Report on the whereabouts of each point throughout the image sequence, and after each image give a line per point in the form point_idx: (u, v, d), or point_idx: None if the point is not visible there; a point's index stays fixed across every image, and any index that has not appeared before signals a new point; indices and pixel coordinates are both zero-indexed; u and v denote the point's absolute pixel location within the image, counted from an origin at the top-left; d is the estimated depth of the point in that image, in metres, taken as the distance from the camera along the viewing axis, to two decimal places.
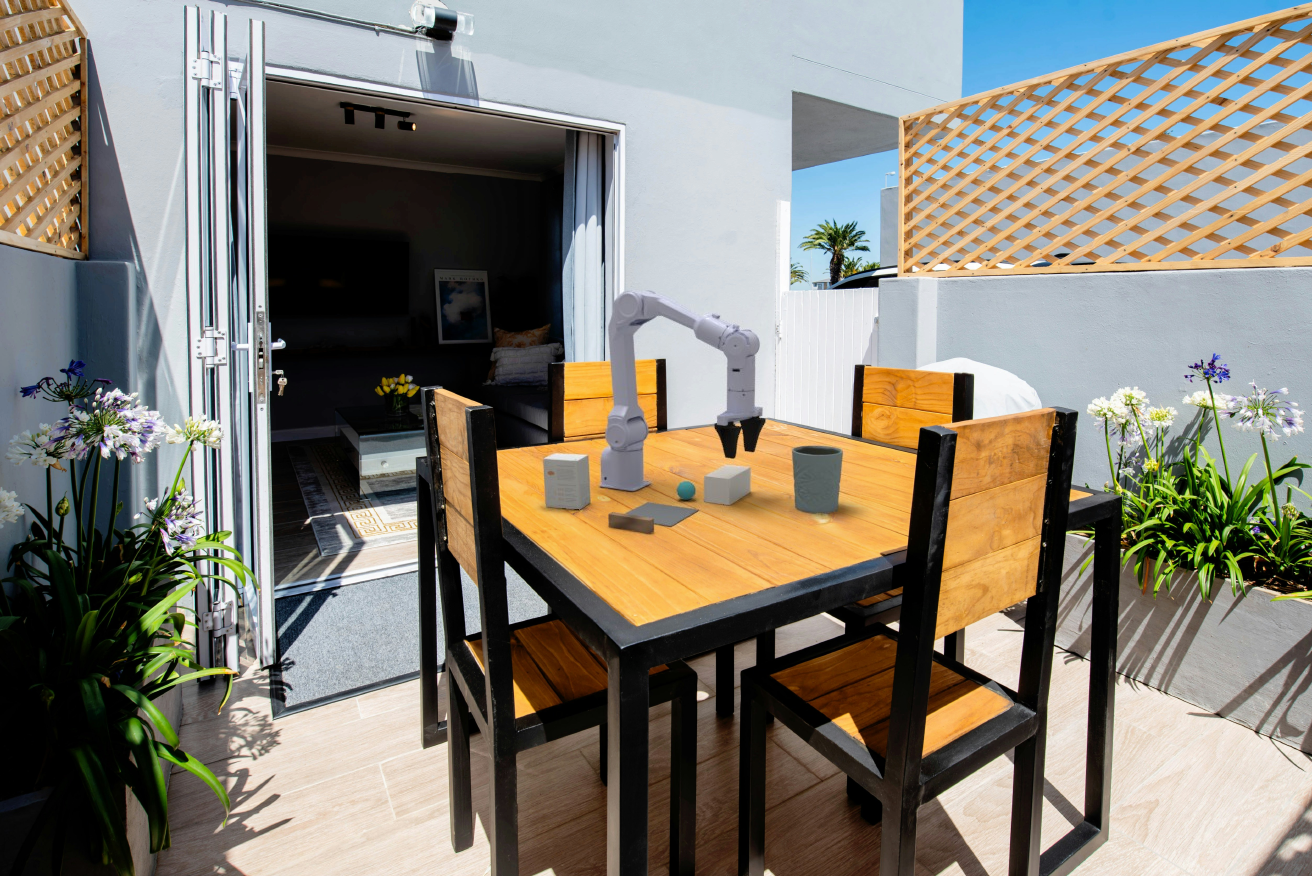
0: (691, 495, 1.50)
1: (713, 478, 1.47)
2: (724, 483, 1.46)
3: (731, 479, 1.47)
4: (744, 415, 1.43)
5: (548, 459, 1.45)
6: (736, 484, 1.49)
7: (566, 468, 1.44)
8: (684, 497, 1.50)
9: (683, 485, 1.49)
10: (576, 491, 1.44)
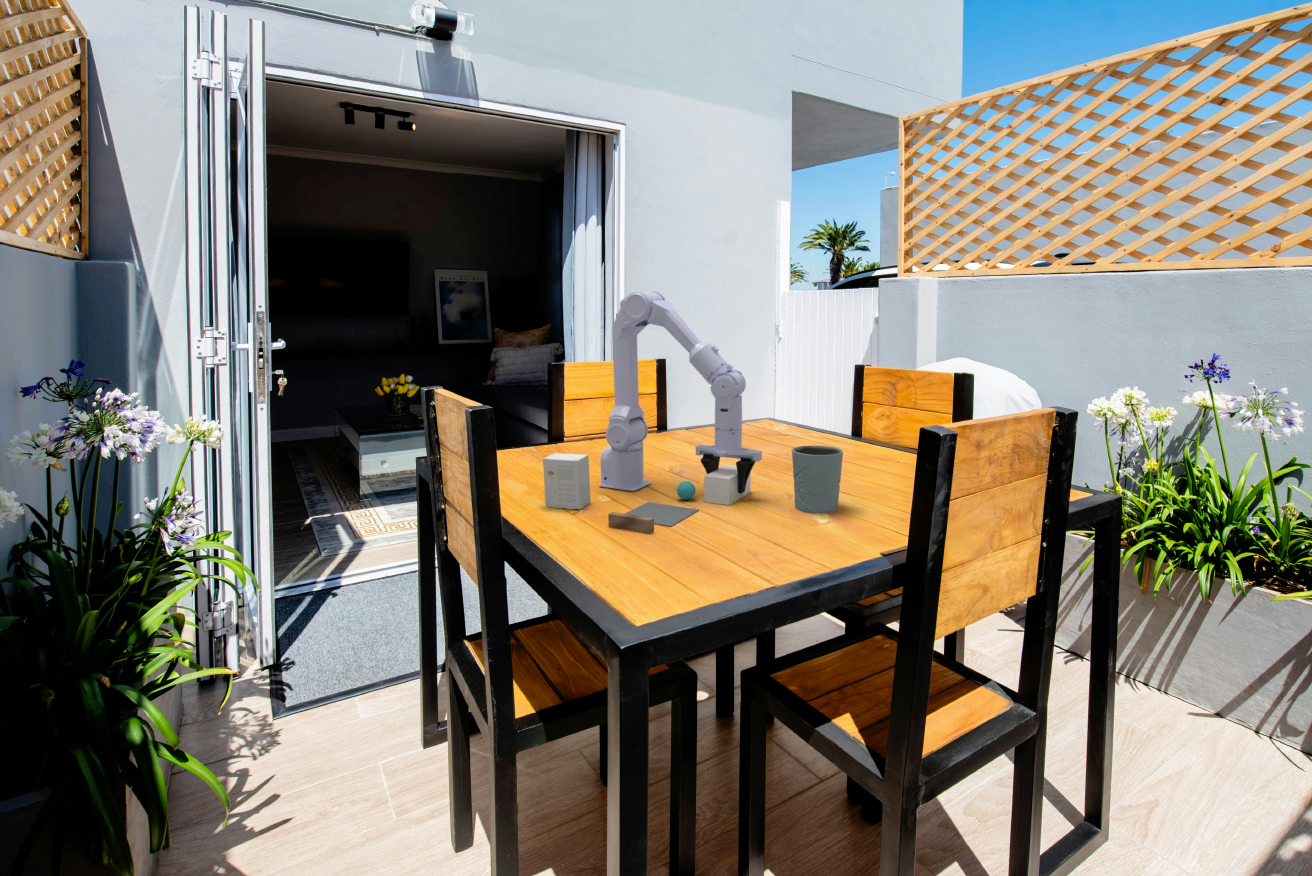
0: (691, 495, 1.50)
1: (713, 478, 1.47)
2: (724, 483, 1.46)
3: (731, 479, 1.47)
4: (713, 451, 1.50)
5: (548, 459, 1.45)
6: (736, 484, 1.49)
7: (566, 468, 1.44)
8: (684, 497, 1.50)
9: (683, 485, 1.49)
10: (576, 491, 1.44)
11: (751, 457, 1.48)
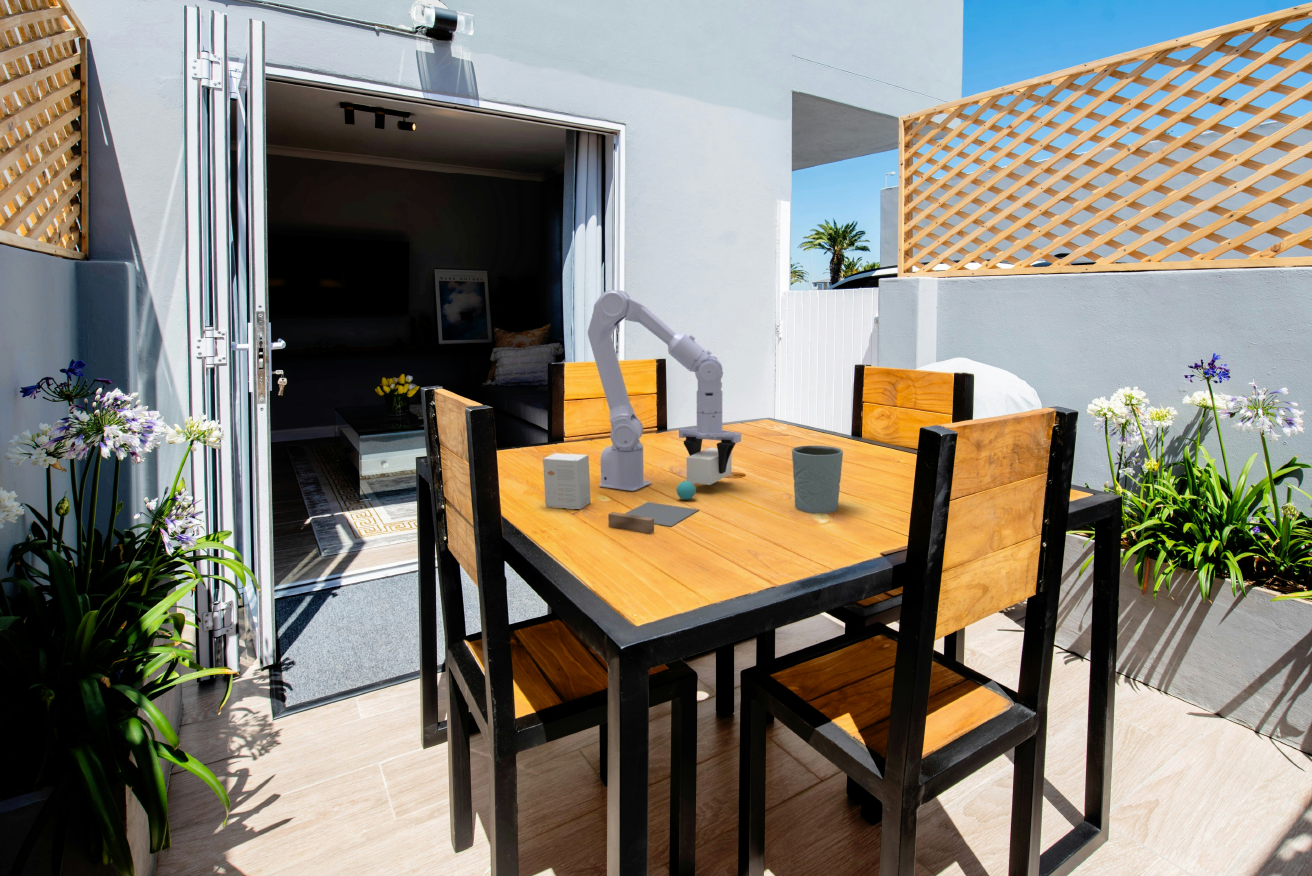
0: (691, 495, 1.50)
1: (695, 459, 1.55)
2: (705, 463, 1.54)
3: (712, 460, 1.54)
4: (695, 433, 1.58)
5: (548, 459, 1.45)
6: (717, 465, 1.57)
7: (566, 468, 1.44)
8: (684, 497, 1.50)
9: (683, 485, 1.49)
10: (576, 491, 1.44)
11: (731, 439, 1.56)
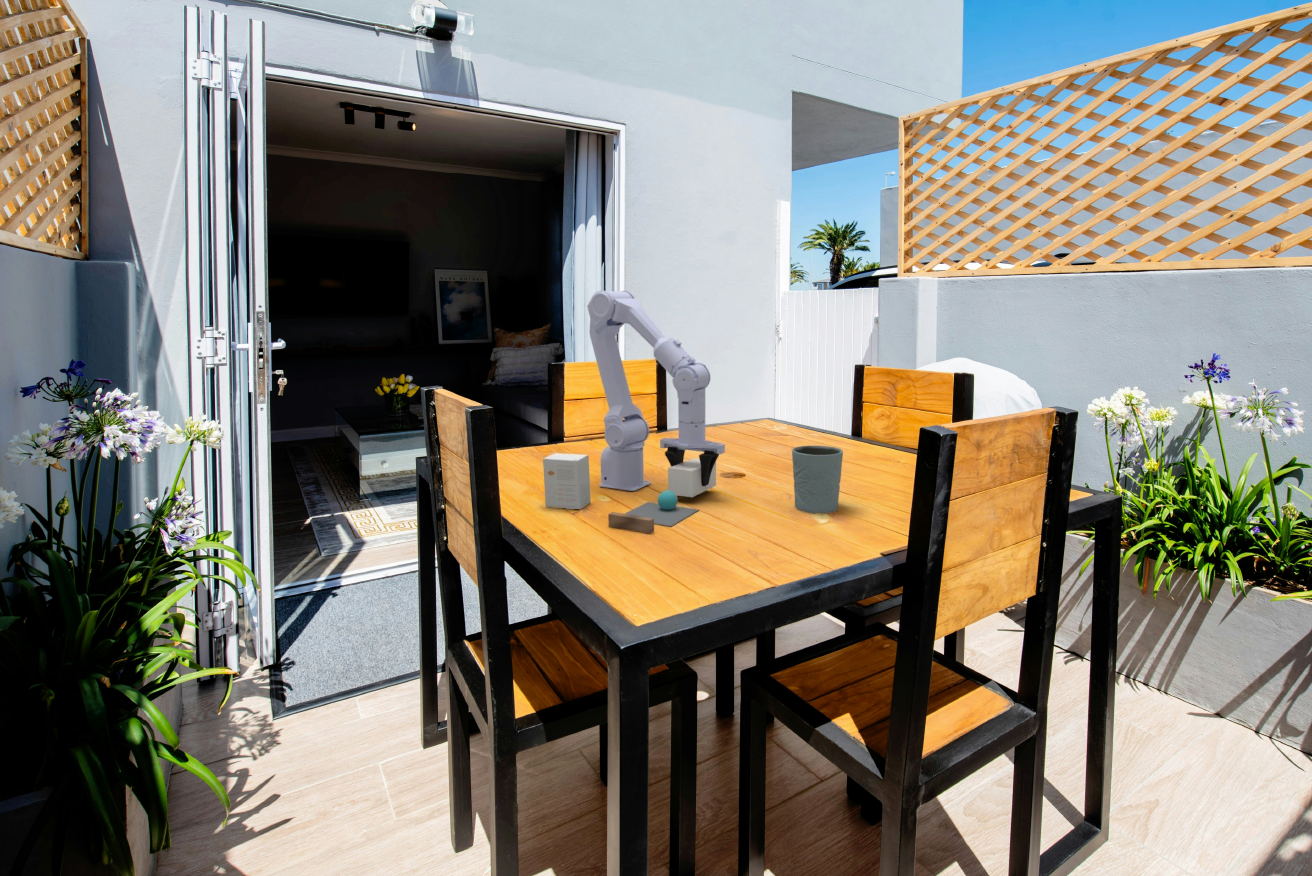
0: (674, 496, 1.42)
1: (677, 470, 1.48)
2: (687, 475, 1.47)
3: (694, 471, 1.47)
4: (677, 444, 1.51)
5: (548, 459, 1.45)
6: (700, 477, 1.50)
7: (566, 468, 1.44)
8: (668, 492, 1.43)
9: None
10: (576, 491, 1.44)
11: (714, 450, 1.49)
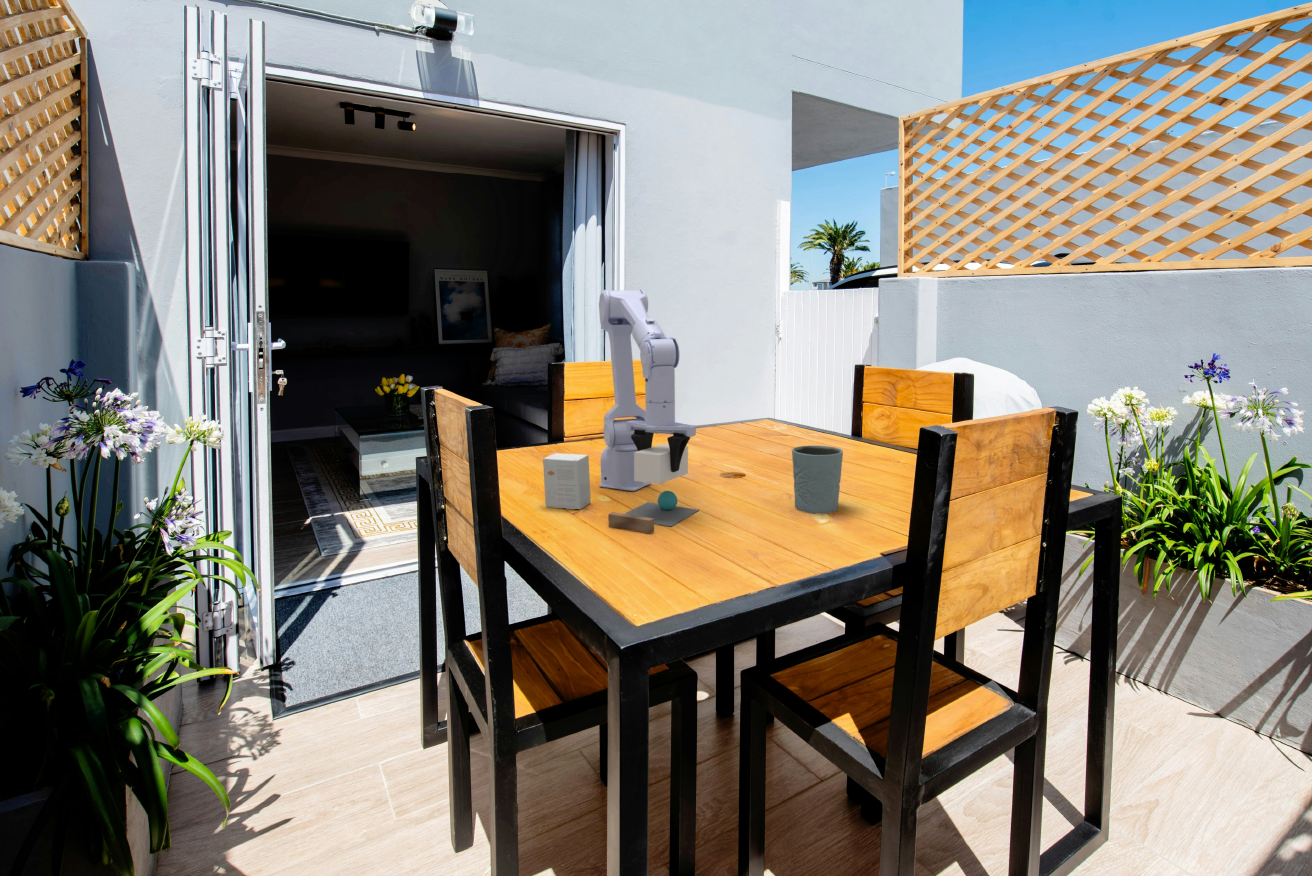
0: (674, 496, 1.42)
1: (643, 454, 1.35)
2: (654, 459, 1.34)
3: (663, 456, 1.35)
4: (643, 426, 1.38)
5: (548, 459, 1.45)
6: (669, 462, 1.37)
7: (566, 468, 1.44)
8: (668, 492, 1.43)
9: None
10: (576, 491, 1.44)
11: (684, 432, 1.36)
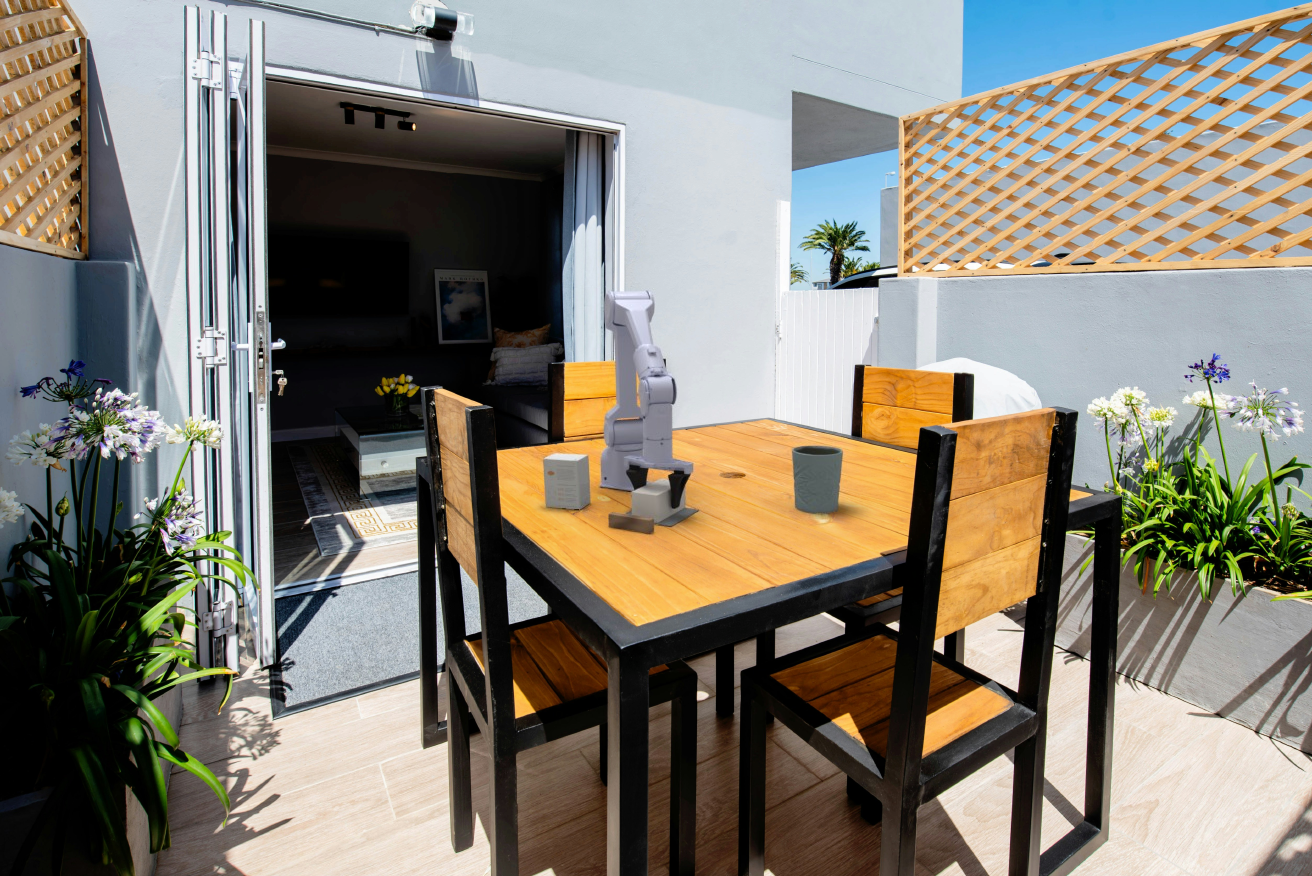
0: None
1: (640, 494, 1.36)
2: (651, 500, 1.35)
3: (660, 495, 1.35)
4: (641, 462, 1.38)
5: (548, 459, 1.45)
6: (666, 501, 1.38)
7: (566, 468, 1.44)
8: None
9: None
10: (576, 491, 1.44)
11: (682, 469, 1.36)
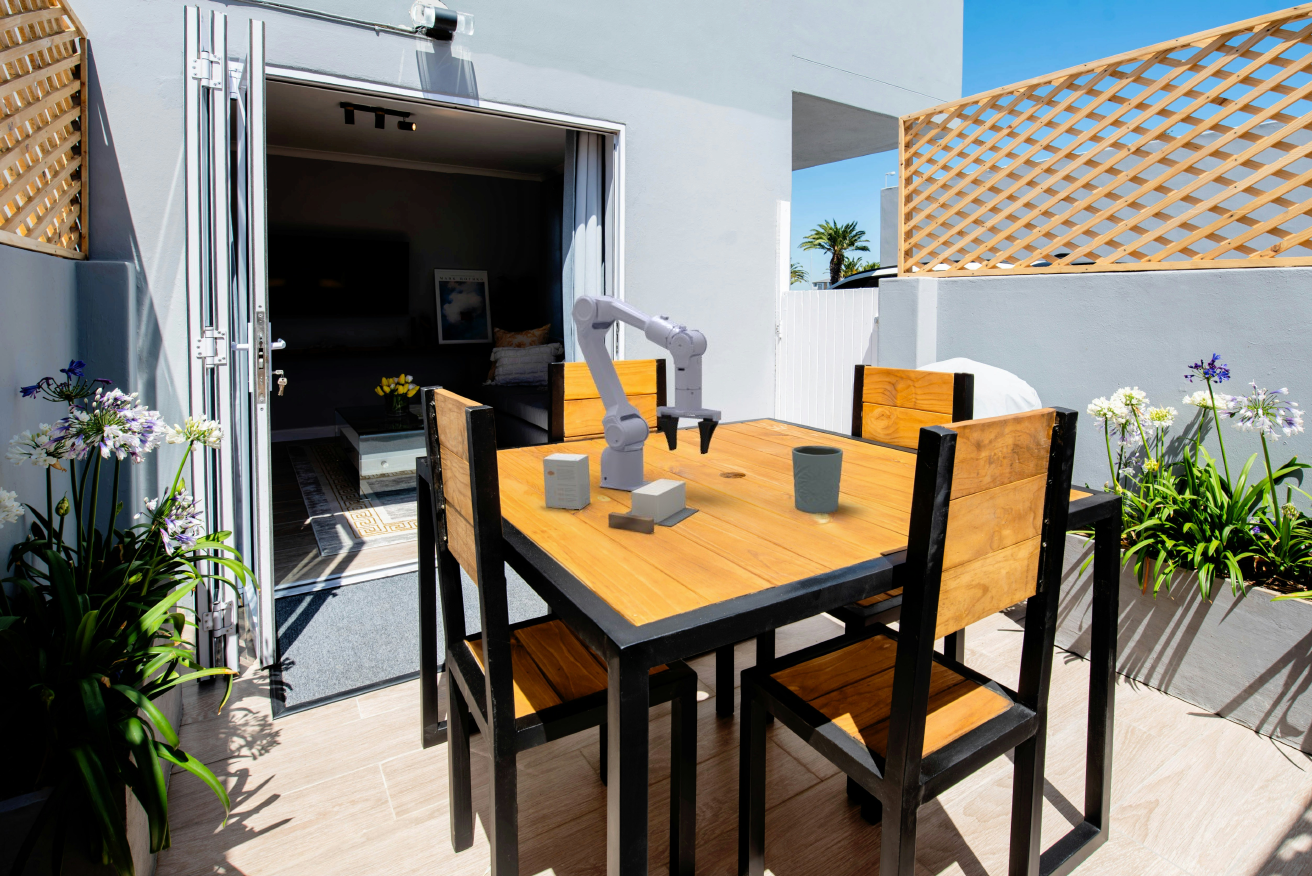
0: None
1: (640, 494, 1.36)
2: (651, 500, 1.35)
3: (660, 495, 1.35)
4: (673, 411, 1.50)
5: (548, 459, 1.45)
6: (666, 501, 1.38)
7: (566, 468, 1.44)
8: None
9: None
10: (576, 491, 1.44)
11: (710, 417, 1.48)
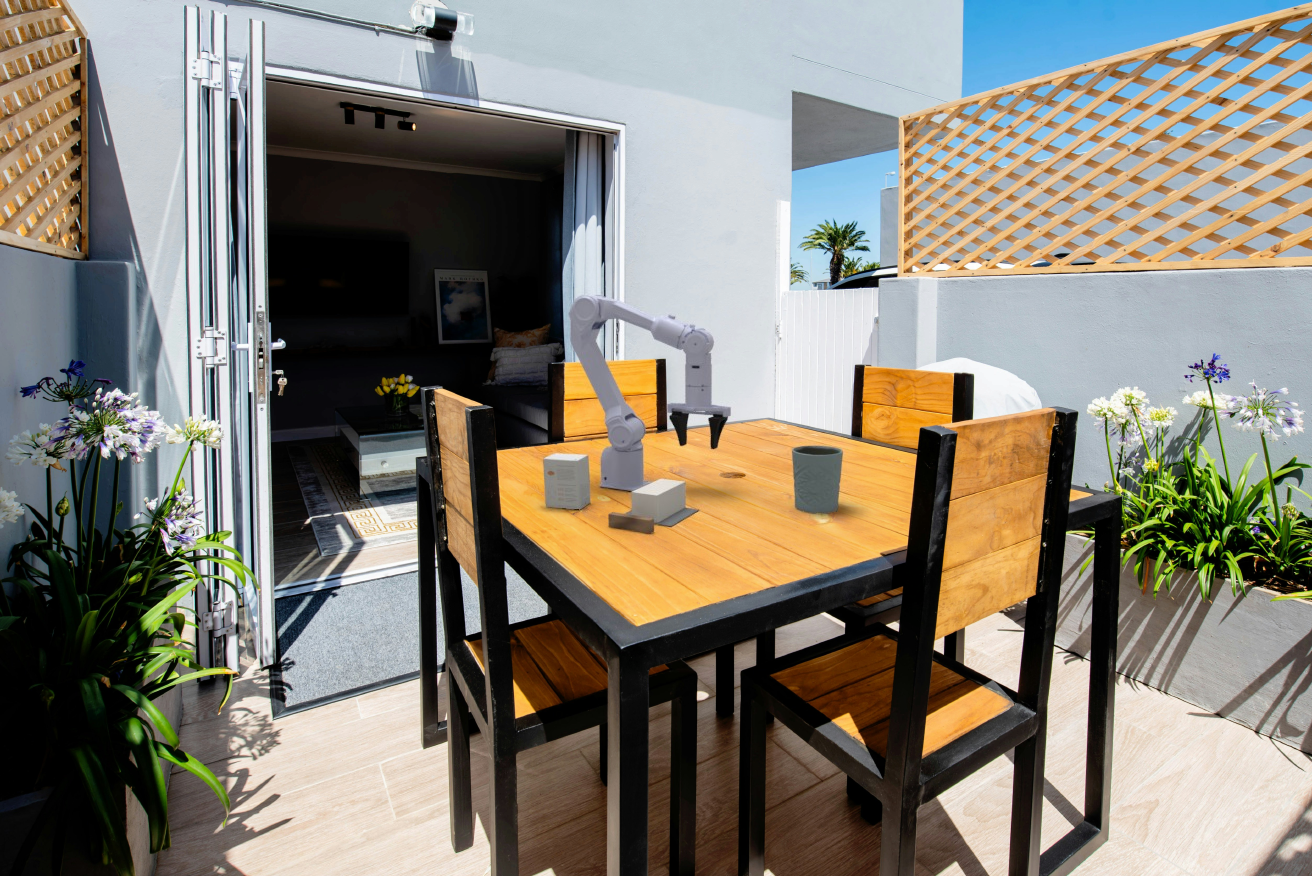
0: None
1: (640, 494, 1.36)
2: (651, 500, 1.35)
3: (660, 495, 1.35)
4: (683, 408, 1.54)
5: (548, 459, 1.45)
6: (666, 501, 1.38)
7: (566, 468, 1.44)
8: None
9: None
10: (576, 491, 1.44)
11: (720, 413, 1.52)
